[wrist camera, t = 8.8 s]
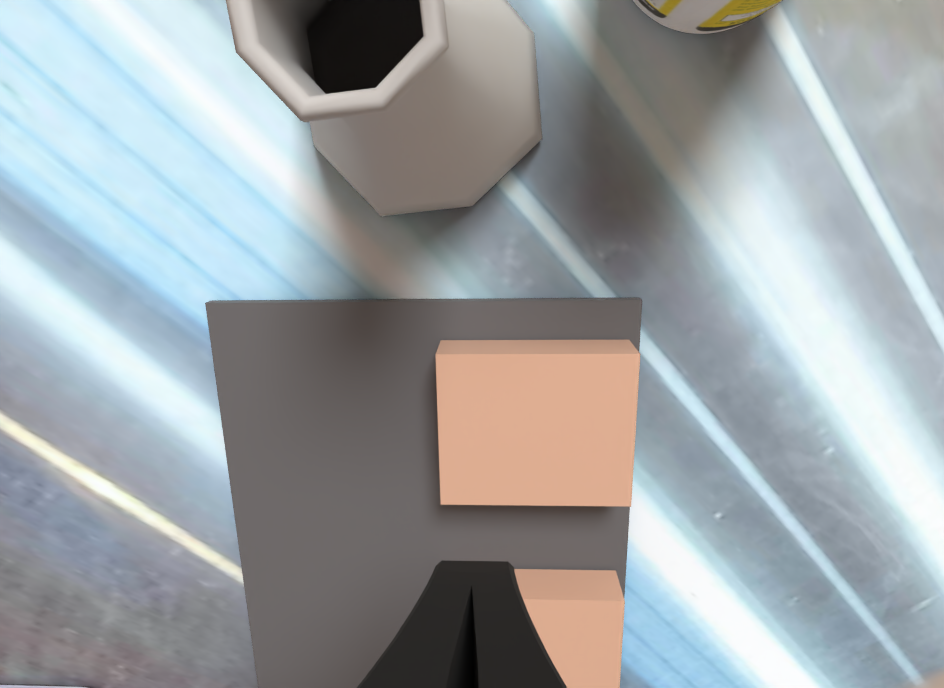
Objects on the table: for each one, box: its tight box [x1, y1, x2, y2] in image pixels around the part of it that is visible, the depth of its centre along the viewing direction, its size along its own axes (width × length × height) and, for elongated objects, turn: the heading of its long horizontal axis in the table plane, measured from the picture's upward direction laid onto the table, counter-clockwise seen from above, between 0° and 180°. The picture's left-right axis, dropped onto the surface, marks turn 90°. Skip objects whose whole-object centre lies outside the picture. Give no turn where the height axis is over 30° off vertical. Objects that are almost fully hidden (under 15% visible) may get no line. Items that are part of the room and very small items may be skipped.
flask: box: [226, 0, 542, 216], centre depth 13 cm, size 7×7×10 cm
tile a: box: [514, 569, 625, 688], centre depth 22 cm, size 2×5×6 cm
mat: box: [205, 298, 642, 688], centre depth 22 cm, size 14×16×1 cm
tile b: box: [436, 340, 640, 506], centre depth 19 cm, size 2×5×6 cm
